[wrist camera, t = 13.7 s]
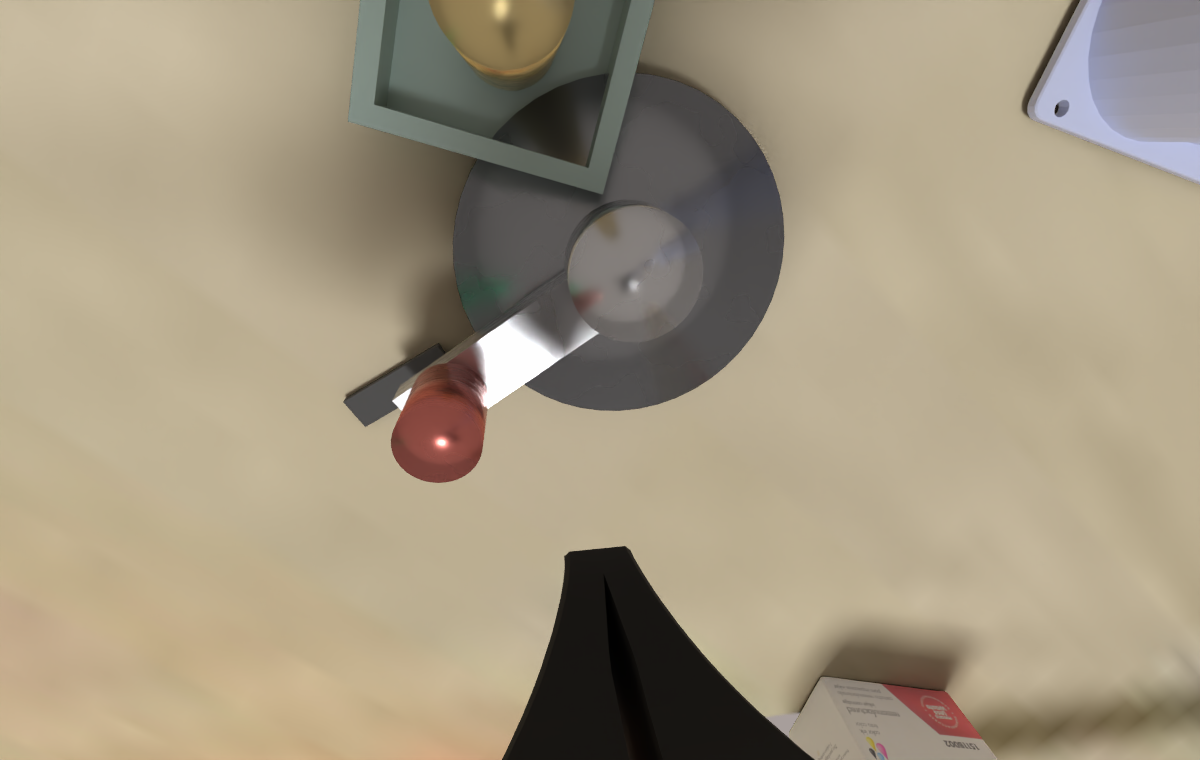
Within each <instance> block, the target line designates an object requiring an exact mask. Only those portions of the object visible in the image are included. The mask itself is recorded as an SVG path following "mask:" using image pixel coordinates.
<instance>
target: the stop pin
mask: <svg viewBox="0 0 1200 760" xmlns="http://www.w3.org/2000/svg"><path fill="white" fill-rule="evenodd" d="M428 1H429V4H430V7H431V10H432V12H433V15H434V17H435V19H436V21H437V23H438V25H439V27H440V28H441V30H442V31H443V33H444V34H445V36H446V37H447V38H448V39H449V41H450V42H451V43H452V45H453V46H454V47H455V48H456V50H457V51H458V52H459V53H460V55H461V56H462V57H463V59H464V60H465V61H466V62H467V64H468V65H469V66H470V67H471V69H472V70H473V71H474V73H475V74H476V75H477V76H478V77H479V78H481V79H482V80H483V81H484V82H486V83H487V84H489V85H491V86H493V87H495V88H498V89H502V90H508V91H517V90H522V89H525V88H528V87H530V86H532V85H534V84H535V83H537V82H538V81H539V80H541V79H542V78H543V77H544V75H545V74H546V73H547V72H548V70H549V68H550V67H551V65H552V62H553V60H554V58H555V56H556V53H557V51H558V49H559V46H560V44H561V42H562V39H563V37H564V35H565V32H566V30H567V28H568V25H569V23H570V20H571V16H572V13H573V8H574V3H575V0H428Z"/></svg>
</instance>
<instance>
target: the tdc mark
mask: <svg viewBox="0 0 1200 760" xmlns="http://www.w3.org/2000/svg"><path fill="white" fill-rule="evenodd" d="M444 354H445V351H444V350H443V349H442V347H441V346H440V345H439V343H438V344H436V345H435V346H433V347H431V348H430V349H428V350H426V351H425V352H423V353H421V354H420V355H418V356H416V357H415V358H413V359H411V360H409V361H408V362H406V363H404V364H403V365H401V366H399V367H398V368H396V369H394V370H393V371H391V372H389V373H388V374H386V375H384V376H383V377H381V378H379V379H378V380H376V381H374V382H372V383H371V384H369V385H367V386H366V387H364V388H362V389H361V390H359V391H357V392H356V393H354V394H352V395H351V396H349V397H347V398H346V399H345V400H344V403H345V404H346V406H347V407H348V408H349V409H350V410H351V411H352V412H353V413H354V415H355V416H356V417H357V418H358V419H359V420H360V421H361V422H362V424H363V425H364V426H365V427H366V426H368V425H369V424H371V423H373V422H375V421H376V420H378V419H380V418H381V417H383V416H385V415H387V414H388V413H390V412H392V411H393V410H395V409H397V408H398V407H397V405H396V404H395V403H394V402H393V401H392V400H393V398H394V396H395V394H396V392H397V390H398V388H399V386H400V385H401V384H403V383H404V382H405V381H407V380H408V379H410V378H411V377H413V376H414V375H415V374H417V373H418V372H420V371H421V370H423V369H424V368H425V367H427V366H428V365H430V364H431V363H433V362H434V361H435V360H437V359H438V358H440V357H441V356H443V355H444Z"/></svg>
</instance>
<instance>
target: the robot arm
mask: <svg viewBox="0 0 1200 760" xmlns="http://www.w3.org/2000/svg"><path fill="white" fill-rule="evenodd" d="M1058 103H1059V109H1058V112H1057V113H1056V114H1055V113H1054V110H1055V106H1056V105H1057V104H1058ZM1027 113H1028V115H1029V117H1030V118H1031V119H1032V120H1034V121H1037V122H1039V123H1042V124H1044V125H1047V126H1050V127H1052V128H1055V129H1057V130H1060V131H1063V132H1065V133H1068V134H1070V135H1073V136H1075V137H1078V138H1081V139H1083V140H1086V141H1088V142H1091V143H1094V144H1096V145H1099V146H1101V147H1104V148H1106V149H1109V150H1112V151H1114V152H1117V153H1119V154H1122V155H1124V156H1127V157H1130V158H1132V159H1135V160H1137V161H1140V162H1143V163H1145V164H1148V165H1150V166H1153V167H1155V168H1158V169H1161V170H1163V171H1166V172H1168V173H1171V174H1174V175H1176V176H1179V177H1181V178H1184V179H1186V180H1189V181H1192V182H1194V183H1197V184H1199V185H1200V0H1080V2H1079V4H1078V6H1077V8H1076V10H1075V12H1074V14H1073V16H1072V17H1071V19H1070V21H1069V23H1068V25H1067V27H1066V29H1065V31H1064V33H1063V35H1062V37H1061V39H1060V41H1059V43H1058V45H1057V47H1056V49H1055V51H1054V53H1053V55H1052V57H1051V59H1050V61H1049V63H1048V65H1047V67H1046V69H1045V71H1044V73H1043V75H1042V77H1041V79H1040V81H1039V83H1038V85H1037V87H1036V88H1035V90H1034V92H1033V94H1032V96H1031V98H1030V101H1029V103H1028V109H1027ZM564 558H565V571H564V582H563V588H562V594H561V599H560V604H559V608H558V612H557V616H556V620H555V624H554V628H553V632H552V635H551V639H550V642H549V645H548V648H547V651H546V654H545V657H544V660H543V664H542V667H541V670H540V672H539V675H538V678H537V681H536V683H535V686H534V689H533V691H532V694H531V696H530V699H529V701H528V704H527V706H526V708H525V711H524V713H523V716H522V718H521V720H520V722H519V725H518V727H517V729H516V731H515V733H514V735H513V738H512V740H511V742H510V744H509V746H508V749H507V751H506V753H505V755H504V757H503V759H502V760H815V759H814V758H812V757H811V756H810V755H808V754H807V753H806V752H805V751H803V750H802V749H801V748H800V747H799V746H798V745H796V744H795V743H794V742H793V741H792V740H791V739H790V738H788V737H787V736H786V735H785V734H784V733H782V732H781V731H780V730H779V729H778V728H777V727H776V726H775V725H773V724H772V723H771V722H770V721H769V720H768V719H766V718H765V717H764V716H763V715H762V714H761V713H760V712H759V711H758V710H756V709H755V708H754V707H753V706H752V705H751V704H750V703H749V702H748V701H747V700H746V699H745V698H744V697H743V696H742V695H741V694H740V693H739V692H738V691H737V690H736V689H735V688H734V687H733V686H732V685H731V684H730V683H729V682H728V681H727V680H726V679H725V678H724V677H723V676H722V675H721V674H720V672H719V671H718V670H717V669H716V668H715V667H714V666H713V665H712V664H711V663H710V661H709V660H708V659H707V658H706V657H705V656H704V655H703V654H702V652H701V651H700V650H699V649H698V648H697V646H696V645H695V644H694V643H693V642H692V640H691V639H690V638H689V637H688V636H687V634H686V633H685V632H684V630H683V629H682V628H681V627H680V625H679V624H678V623H677V621H676V620H675V619H674V617H673V616H672V615H671V613H670V612H669V611H668V609H667V608H666V607H665V605H664V604H663V603H662V601H661V600H660V598H659V597H658V595H657V594H656V593H655V591H654V590H653V588H652V586H651V585H650V583H649V582H648V580H647V579H646V577H645V576H644V574H643V572H642V571H641V569H640V567H639V566H638V564H637V562H636V560H635V559H634V557H633V555H632V553H631V551H630V550H629V549H628V548H627V547H626V546H622V547H612V548H602V549H592V550H582V551H572V552H569V553H568V554H567V555H566V556H564Z"/></svg>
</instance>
